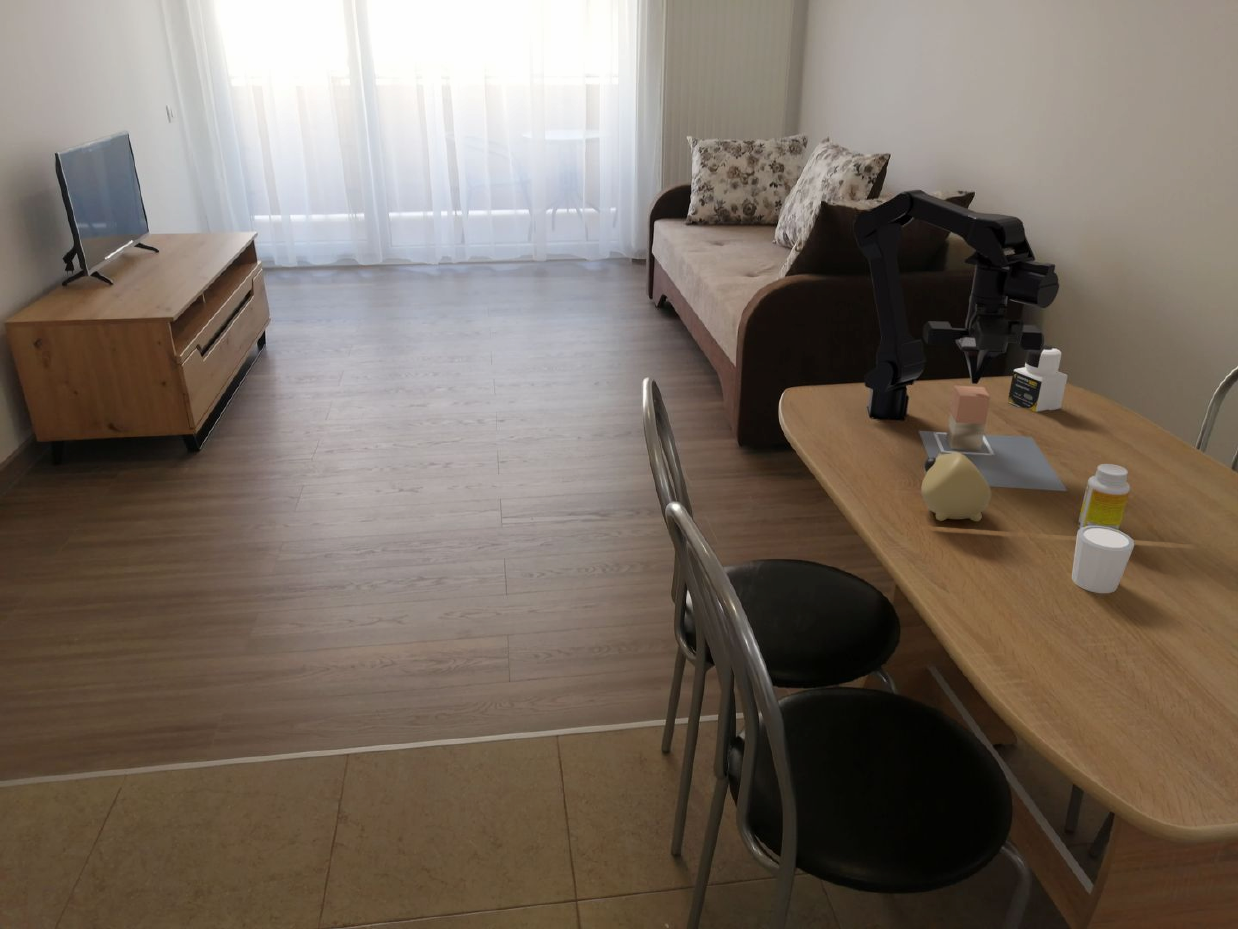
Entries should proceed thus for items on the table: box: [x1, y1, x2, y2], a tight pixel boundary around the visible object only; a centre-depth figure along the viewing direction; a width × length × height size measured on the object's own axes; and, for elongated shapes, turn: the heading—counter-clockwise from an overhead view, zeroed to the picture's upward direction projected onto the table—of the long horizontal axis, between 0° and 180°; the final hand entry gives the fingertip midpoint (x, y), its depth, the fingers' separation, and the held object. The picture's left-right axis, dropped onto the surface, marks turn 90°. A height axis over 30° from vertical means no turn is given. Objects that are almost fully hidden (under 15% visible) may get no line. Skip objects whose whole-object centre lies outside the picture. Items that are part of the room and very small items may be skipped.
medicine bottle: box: [1007, 345, 1068, 413], centre depth 183 cm, size 7×7×12 cm
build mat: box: [918, 430, 1068, 492], centre depth 162 cm, size 20×22×1 cm
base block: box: [946, 412, 986, 450], centre depth 166 cm, size 5×5×5 cm
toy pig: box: [920, 452, 993, 522], centre depth 142 cm, size 10×12×11 cm
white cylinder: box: [1071, 526, 1135, 594], centre depth 125 cm, size 7×7×7 cm
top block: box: [949, 385, 991, 425], centre depth 164 cm, size 5×5×5 cm
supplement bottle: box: [1077, 463, 1131, 531], centre depth 138 cm, size 6×6×10 cm
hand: (974, 383), depth 162 cm, fingers closed
